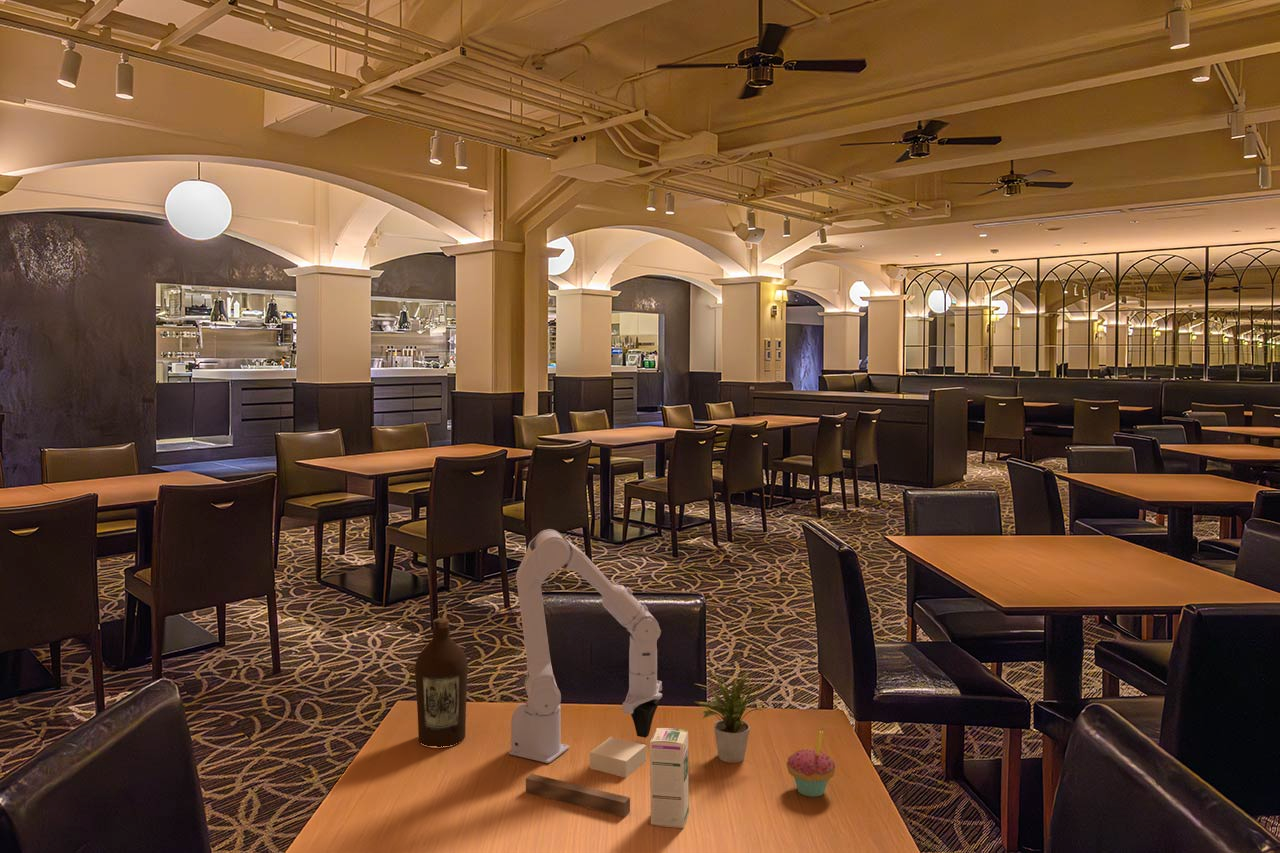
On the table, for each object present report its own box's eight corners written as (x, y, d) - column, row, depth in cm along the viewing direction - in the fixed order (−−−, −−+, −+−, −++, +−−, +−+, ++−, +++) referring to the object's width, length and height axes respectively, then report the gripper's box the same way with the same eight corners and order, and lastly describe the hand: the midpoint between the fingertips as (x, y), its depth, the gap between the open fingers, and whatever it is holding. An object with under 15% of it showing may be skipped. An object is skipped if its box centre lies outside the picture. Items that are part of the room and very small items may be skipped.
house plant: (711, 733, 174) (711, 657, 173) (775, 746, 168) (775, 667, 167) (685, 761, 161) (685, 678, 161) (753, 776, 155) (753, 690, 155)
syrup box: (684, 829, 137) (684, 743, 136) (649, 825, 138) (649, 740, 137) (689, 811, 142) (689, 729, 142) (655, 808, 143) (655, 726, 143)
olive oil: (416, 731, 175) (415, 614, 174) (467, 726, 178) (466, 611, 176) (414, 752, 165) (413, 629, 164) (468, 747, 167) (467, 625, 166)
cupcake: (836, 784, 152) (837, 720, 152) (831, 806, 144) (832, 738, 144) (790, 776, 155) (790, 713, 155) (782, 798, 147) (783, 731, 147)
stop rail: (525, 791, 149) (525, 778, 149) (531, 787, 151) (531, 773, 151) (624, 817, 140) (624, 802, 140) (629, 811, 142) (630, 797, 142)
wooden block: (589, 770, 158) (589, 752, 158) (611, 753, 165) (611, 736, 165) (626, 779, 155) (626, 761, 154) (646, 762, 162) (646, 745, 161)
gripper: (645, 685, 161) (645, 753, 162) (675, 662, 174) (674, 726, 175) (613, 679, 164) (613, 746, 165) (644, 657, 177) (644, 720, 178)
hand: (642, 735), depth 170 cm, fingers closed
